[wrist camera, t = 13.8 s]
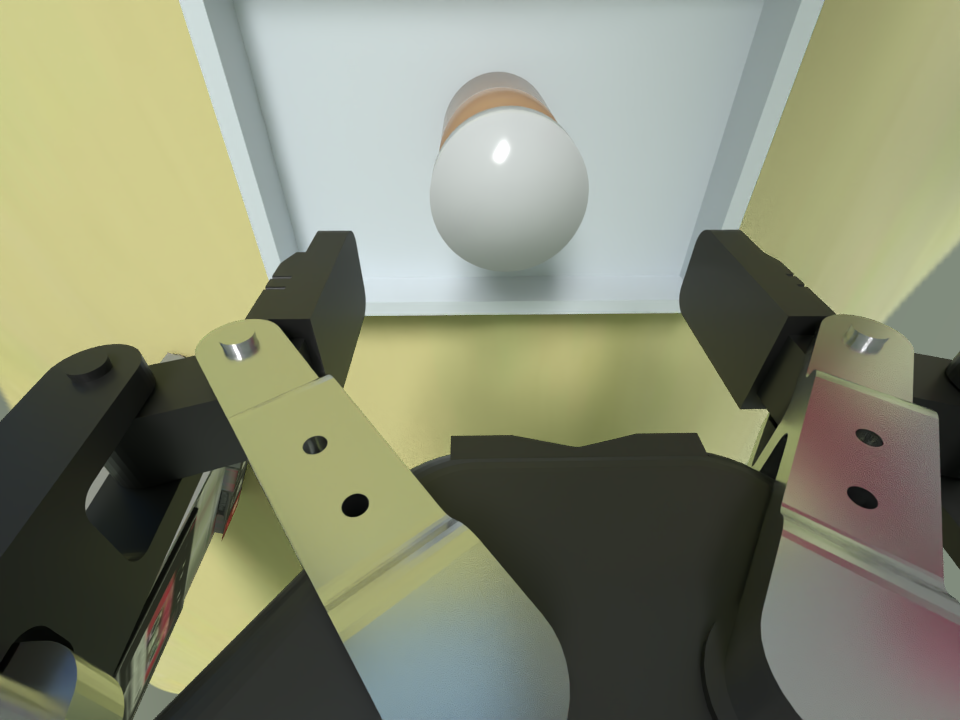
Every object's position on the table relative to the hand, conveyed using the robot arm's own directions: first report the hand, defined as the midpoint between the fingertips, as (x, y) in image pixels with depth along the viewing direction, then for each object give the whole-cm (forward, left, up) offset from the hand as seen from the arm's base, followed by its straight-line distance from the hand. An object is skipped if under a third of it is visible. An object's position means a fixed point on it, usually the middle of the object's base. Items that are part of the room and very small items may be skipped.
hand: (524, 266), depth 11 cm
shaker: (0, 0, -13) cm, 13 cm away
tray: (0, 0, -13) cm, 13 cm away
